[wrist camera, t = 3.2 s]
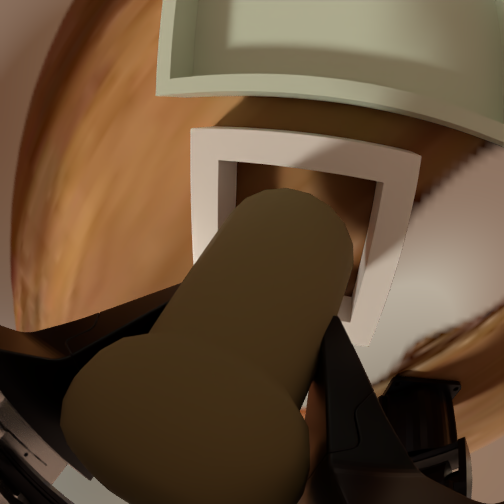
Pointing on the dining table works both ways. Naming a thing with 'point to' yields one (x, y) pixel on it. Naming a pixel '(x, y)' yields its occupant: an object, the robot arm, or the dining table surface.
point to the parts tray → (343, 55)
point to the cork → (220, 366)
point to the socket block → (319, 159)
